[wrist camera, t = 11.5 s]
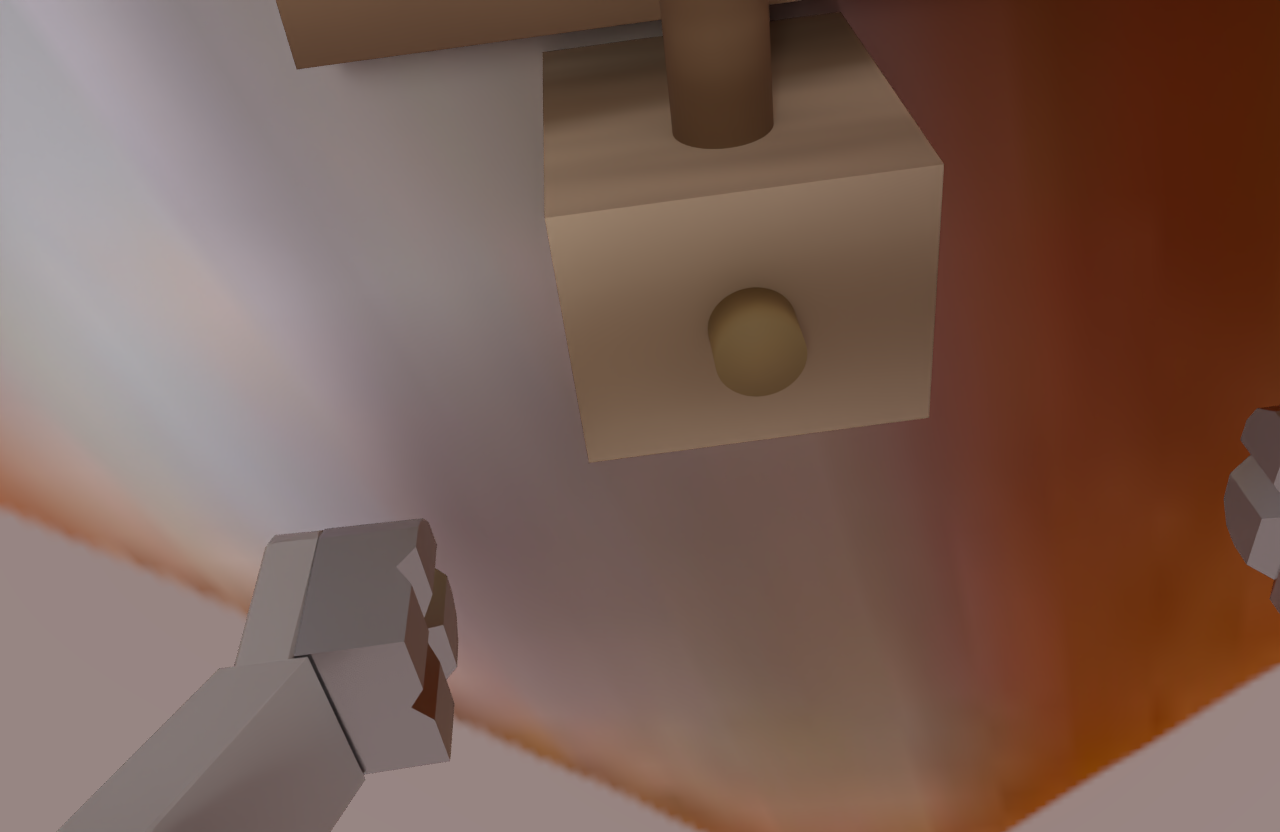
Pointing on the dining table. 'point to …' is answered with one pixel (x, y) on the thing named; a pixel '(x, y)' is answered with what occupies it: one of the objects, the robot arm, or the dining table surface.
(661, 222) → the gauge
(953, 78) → the dining table surface
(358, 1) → the plank
